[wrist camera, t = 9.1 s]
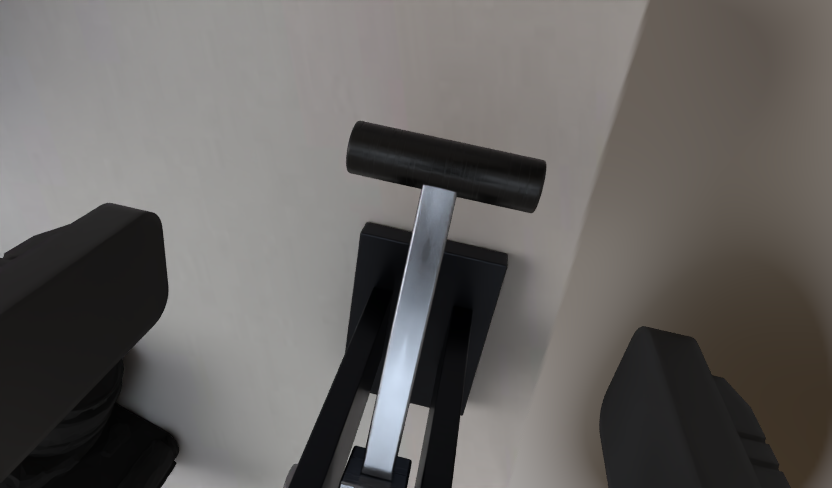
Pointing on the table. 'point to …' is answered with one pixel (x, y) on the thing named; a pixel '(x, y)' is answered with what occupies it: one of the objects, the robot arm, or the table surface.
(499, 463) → the table surface
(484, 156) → the lever
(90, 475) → the film camera
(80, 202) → the table surface
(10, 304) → the robot arm
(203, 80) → the table surface
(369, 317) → the bracket
